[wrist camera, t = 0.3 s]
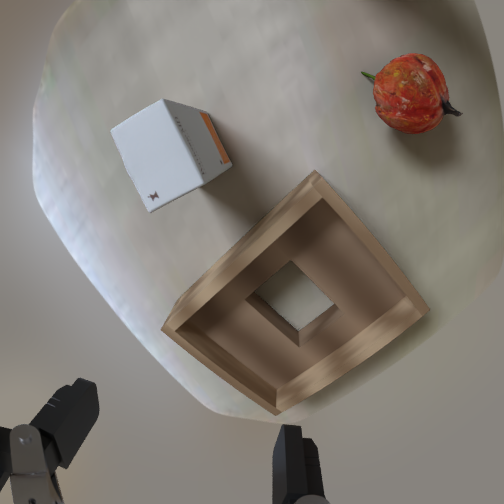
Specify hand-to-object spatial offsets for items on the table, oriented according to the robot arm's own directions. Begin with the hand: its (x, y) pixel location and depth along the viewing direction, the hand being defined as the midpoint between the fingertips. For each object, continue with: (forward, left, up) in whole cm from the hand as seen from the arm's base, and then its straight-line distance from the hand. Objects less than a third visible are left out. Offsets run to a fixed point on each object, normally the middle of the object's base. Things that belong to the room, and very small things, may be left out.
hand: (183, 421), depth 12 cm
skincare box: (-4, -9, -22) cm, 24 cm away
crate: (0, +8, -22) cm, 23 cm away
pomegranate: (-21, 0, -22) cm, 30 cm away
